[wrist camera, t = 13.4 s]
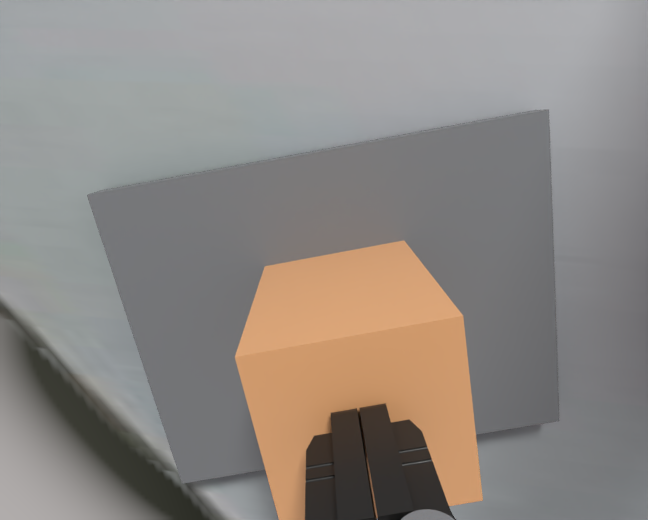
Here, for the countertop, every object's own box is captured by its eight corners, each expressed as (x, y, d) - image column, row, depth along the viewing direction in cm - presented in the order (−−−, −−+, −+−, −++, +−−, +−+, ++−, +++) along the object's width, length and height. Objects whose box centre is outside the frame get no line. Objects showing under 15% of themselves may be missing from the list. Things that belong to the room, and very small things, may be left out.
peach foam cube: (404, 240, 19) (463, 316, 11) (421, 364, 20) (482, 500, 13) (264, 266, 19) (235, 357, 12) (293, 387, 20) (283, 534, 13)
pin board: (534, 110, 18) (666, 103, 12) (546, 405, 22) (650, 530, 16) (100, 190, 19) (-21, 229, 12) (188, 465, 23) (135, 612, 16)
